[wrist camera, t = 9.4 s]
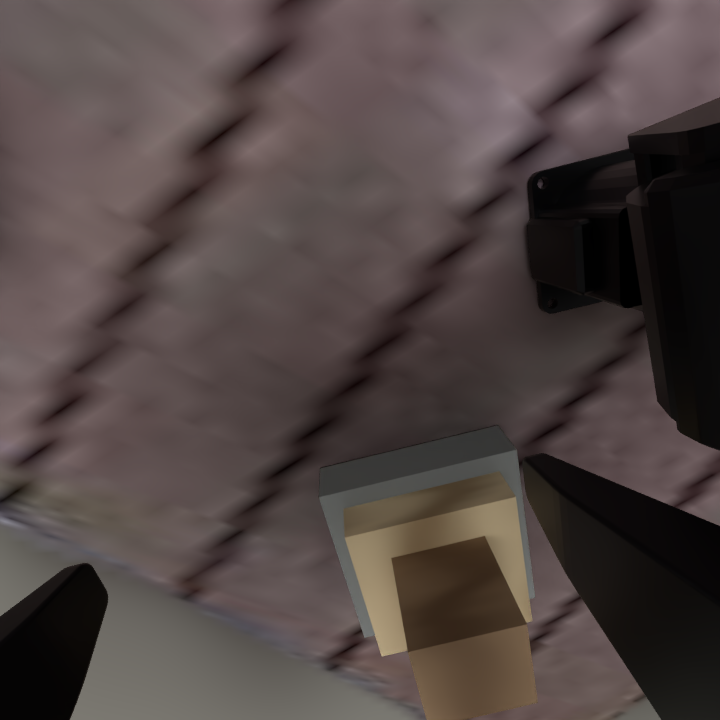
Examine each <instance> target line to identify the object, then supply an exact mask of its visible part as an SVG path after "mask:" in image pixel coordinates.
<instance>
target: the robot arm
mask: <svg viewBox="0 0 720 720" xmlns="http://www.w3.org/2000/svg"><path fill="white" fill-rule="evenodd" d="M628 142H629V149H626V150H622V151H618V152H614V153H610V154H606V155H602V156H598V157H594V158H590V159H586V160H582V161H578V162H574V163H570V164H566V165H562V166H559V167H555V168H551V169H547V170H543V171H539V172H536V173H534V174H533V175H532V176H531V177H530V179H529V181H528V192H529V204H530V215H531V220H530V221H529V223H528V225H527V231H528V242H529V253H530V263H531V274H532V277H533V278H534V279H535V280H536V281H537V292H538V303H539V307H540V309H541V310H542V311H544V312H547V313H549V314H551V313H557V312H561V311H565V310H569V309H573V308H577V307H582V306H586V305H590V304H594V303H598V302H602V301H605V302H608V303H611V304H614V305H617V306H620V307H623V308H634V309H637V310H640V311H643V313H644V319H645V325H646V332H647V338H648V344H649V351H650V357H651V364H652V370H653V376H654V383H655V389H656V395H657V402H658V403H659V404H660V405H661V406H662V407H663V409H664V410H665V411H666V412H667V413H668V415H669V416H670V417H671V418H672V419H674V420H675V421H676V423H677V430H678V431H679V432H680V433H682V434H684V435H686V436H688V437H690V438H691V439H693V440H695V441H697V442H699V443H701V444H703V445H706V446H708V447H711V448H714V449H717V450H720V97H719V98H717V99H715V100H712V101H710V102H707V103H705V104H702V105H700V106H698V107H695V108H693V109H690V110H688V111H685V112H683V113H681V114H678V115H676V116H673V117H671V118H668V119H666V120H664V121H661V122H659V123H656V124H654V125H652V126H649V127H647V128H644V129H642V130H639V131H637V132H635V133H632V134H630V135H628ZM540 178H543V179H544V182H545V183H544V186H543V188H542V189H540V188H539V187H538V185H537V183H538V180H539V179H540ZM552 298H553V300H554V302H553V304H552V306H550V307H548V305H547V304H548V301H549V300H550V299H552ZM523 473H524V481H525V490H526V495H527V498H528V501H529V503H530V505H531V507H532V509H533V511H534V513H535V515H536V517H537V519H538V521H539V523H540V524H541V526H542V528H543V530H544V532H545V534H546V536H547V538H548V540H549V542H550V544H551V546H552V548H553V550H554V552H555V554H556V556H557V558H558V560H559V561H560V563H561V565H562V567H563V569H564V571H565V573H566V574H567V576H568V578H569V579H570V581H571V582H572V584H573V586H574V587H575V589H576V590H577V592H578V593H579V595H580V596H581V598H582V599H583V601H584V602H585V604H586V605H587V607H588V608H589V610H590V612H591V613H592V615H593V616H594V618H595V619H596V621H597V622H598V624H599V625H600V627H601V628H602V630H603V631H604V633H605V634H606V636H607V638H608V639H609V641H610V642H611V644H612V645H613V647H614V648H615V650H616V651H617V653H618V654H619V656H620V657H621V659H622V660H623V662H624V663H625V665H626V667H627V668H628V670H629V671H630V673H631V674H632V676H633V677H634V679H635V680H636V682H637V683H638V685H639V686H640V688H641V689H642V691H643V692H644V694H645V696H646V697H647V699H648V700H649V702H650V703H651V705H652V706H653V708H654V709H655V711H656V712H657V714H658V715H659V717H660V718H661V720H720V526H718V525H716V524H714V523H711V522H709V521H706V520H704V519H701V518H699V517H697V516H694V515H692V514H689V513H687V512H685V511H682V510H680V509H677V508H675V507H673V506H670V505H668V504H665V503H663V502H661V501H658V500H656V499H653V498H651V497H649V496H646V495H644V494H641V493H639V492H636V491H634V490H632V489H629V488H627V487H624V486H622V485H620V484H617V483H615V482H612V481H610V480H608V479H605V478H603V477H600V476H598V475H596V474H593V473H591V472H588V471H586V470H584V469H581V468H579V467H576V466H574V465H571V464H569V463H567V462H564V461H562V460H559V459H557V458H555V457H552V456H550V455H547V454H544V453H540V454H536V455H532V456H527V457H525V458H524V459H523ZM107 603H108V594H107V591H106V589H105V587H104V585H103V584H102V582H101V580H100V578H99V577H98V575H97V573H96V572H95V570H94V568H93V567H92V566H91V565H90V564H88V563H82V564H78V565H74V566H70V567H67V568H64V569H63V570H62V571H60V572H59V573H58V574H56V575H55V576H54V577H52V578H51V579H50V580H48V581H47V582H46V583H44V584H43V585H42V586H40V587H39V588H38V589H36V590H35V591H34V592H32V593H31V594H30V595H28V596H27V597H26V598H24V599H23V600H22V601H20V602H19V603H18V604H16V605H15V606H14V607H12V608H11V609H10V610H8V611H7V612H6V613H4V614H3V615H2V616H0V720H70V718H71V716H72V713H73V711H74V708H75V705H76V703H77V700H78V698H79V695H80V692H81V689H82V686H83V683H84V680H85V677H86V674H87V670H88V668H89V664H90V661H91V658H92V654H93V651H94V648H95V644H96V641H97V637H98V634H99V631H100V628H101V624H102V621H103V618H104V614H105V611H106V608H107Z"/></svg>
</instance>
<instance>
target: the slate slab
mask: <svg viewBox="0 0 720 720" xmlns="http://www.w3.org/2000/svg"><path fill="white" fill-rule="evenodd" d="M498 471H499V472H500V473H501V475H502V476H503V478H504V479H505V481H506V482H507V484H508V485H509V487H510V489H511V490H512V492H513V493H514V495H515V496H516V501H517V509H518V517H519V524H520V532H521V540H522V547H523V555H524V562H525V570H526V578H527V585H528V593H529V599H531V598H535V593H534V585H533V577H532V569H531V561H530V552H529V544H528V536H527V528H526V520H525V512H524V504H523V496H522V488H521V480H520V472H519V464H518V456H517V449H516V448H515V447H514V446H513V444H512V443H511V442H510V440H509V439H508V438H507V437H506V435H505V434H504V433H503V432H502V430H501V429H500V428H499V426H498V425H497V426H493V427H489V428H485V429H481V430H477V431H472V432H468V433H464V434H460V435H456V436H452V437H448V438H443V439H439V440H435V441H431V442H427V443H423V444H419V445H415V446H410V447H406V448H402V449H398V450H394V451H390V452H386V453H382V454H377V455H373V456H369V457H365V458H361V459H357V460H353V461H348V462H344V463H340V464H336V465H332V466H328V467H324V468H320V480H319V500H320V503H321V506H322V509H323V512H324V515H325V518H326V521H327V524H328V527H329V530H330V533H331V536H332V539H333V542H334V546H335V549H336V552H337V555H338V558H339V561H340V564H341V567H342V570H343V573H344V576H345V579H346V582H347V585H348V588H349V592H350V595H351V598H352V601H353V604H354V607H355V610H356V613H357V616H358V619H359V622H360V625H361V628H362V631H363V634H364V638H365V637H370V636H374V635H375V633H374V630H373V627H372V623H371V620H370V617H369V614H368V611H367V607H366V604H365V601H364V598H363V595H362V592H361V588H360V585H359V582H358V579H357V576H356V572H355V569H354V566H353V563H352V560H351V556H350V553H349V550H348V547H347V544H346V540H345V534H344V511H343V509H345V508H349V507H353V506H357V505H361V504H365V503H369V502H374V501H378V500H382V499H386V498H390V497H394V496H399V495H403V494H407V493H411V492H415V491H419V490H424V489H428V488H432V487H436V486H440V485H444V484H449V483H453V482H457V481H461V480H465V479H469V478H473V477H478V476H482V475H486V474H490V473H494V472H498Z"/></svg>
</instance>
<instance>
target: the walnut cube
mask: <svg viewBox="0 0 720 720" xmlns="http://www.w3.org/2000/svg"><path fill="white" fill-rule="evenodd" d="M391 559H392V565H393V571H394V576H395V582H396V588H397V593H398V599H399V605H400V610H401V616H402V622H403V627H404V633H405V639H406V644H407V650H408V654H409V658H410V661H411V665H412V669H413V672H414V676H415V679H416V683H417V686H418V690H419V694H420V697H421V701H422V704H423V708H424V711H425V715H426V719H427V720H465V719H469V718H474V717H478V716H482V715H487V714H491V713H495V712H500V711H504V710H508V709H513V708H517V707H521V706H526V705H530V704H534V703H538V702H537V694H536V687H535V680H534V672H533V665H532V657H531V650H530V643H529V635H528V628H527V623H526V621H525V619H524V617H523V615H522V613H521V611H520V609H519V607H518V604H517V602H516V600H515V598H514V596H513V594H512V592H511V590H510V588H509V586H508V584H507V581H506V579H505V577H504V575H503V573H502V571H501V569H500V567H499V565H498V563H497V561H496V558H495V556H494V554H493V552H492V550H491V548H490V546H489V544H488V542H487V540H486V538H485V536H482V537H478V538H474V539H469V540H465V541H461V542H457V543H453V544H448V545H444V546H440V547H436V548H432V549H427V550H423V551H419V552H415V553H410V554H406V555H402V556H398V557H394V558H391Z"/></svg>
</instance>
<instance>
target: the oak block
mask: <svg viewBox="0 0 720 720" xmlns="http://www.w3.org/2000/svg"><path fill="white" fill-rule="evenodd" d="M343 511H344V534H345V540H346V544H347V547H348V550H349V553H350V556H351V560H352V563H353V566H354V569H355V572H356V576H357V579H358V582H359V585H360V588H361V592H362V595H363V598H364V601H365V604H366V607H367V611H368V614H369V617H370V620H371V623H372V627H373V630H374V633H375V636H376V639H377V643H378V646H379V649H380V652H381V655H382V656H386V655H391V654H395V653H399V652H403V651H408V650H407V644H406V639H405V633H404V627H403V622H402V616H401V610H400V605H399V599H398V593H397V588H396V582H395V576H394V571H393V565H392V559H391V558H394V557H398V556H402V555H406V554H410V553H415V552H419V551H423V550H427V549H432V548H436V547H440V546H444V545H448V544H453V543H457V542H461V541H465V540H469V539H474V538H478V537H482V536H485V538H486V540H487V542H488V544H489V546H490V548H491V550H492V552H493V554H494V556H495V558H496V561H497V563H498V565H499V567H500V569H501V571H502V573H503V575H504V577H505V579H506V581H507V584H508V586H509V588H510V590H511V592H512V594H513V596H514V598H515V600H516V602H517V604H518V607H519V609H520V611H521V613H522V615H523V617H524V619H525V621H526V623H527V622H531V621H532V616H531V608H530V601H529V593H528V585H527V578H526V570H525V562H524V555H523V547H522V540H521V532H520V524H519V517H518V509H517V501H516V496H515V495H514V493H513V492H512V490H511V489H510V487H509V485H508V484H507V482H506V481H505V479H504V478H503V476H502V475H501V473H500V472H499V471H498V472H494V473H490V474H486V475H482V476H478V477H473V478H469V479H465V480H461V481H457V482H453V483H449V484H444V485H440V486H436V487H432V488H428V489H424V490H419V491H415V492H411V493H407V494H403V495H399V496H394V497H390V498H386V499H382V500H378V501H374V502H369V503H365V504H361V505H357V506H353V507H349V508H345V509H343Z"/></svg>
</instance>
